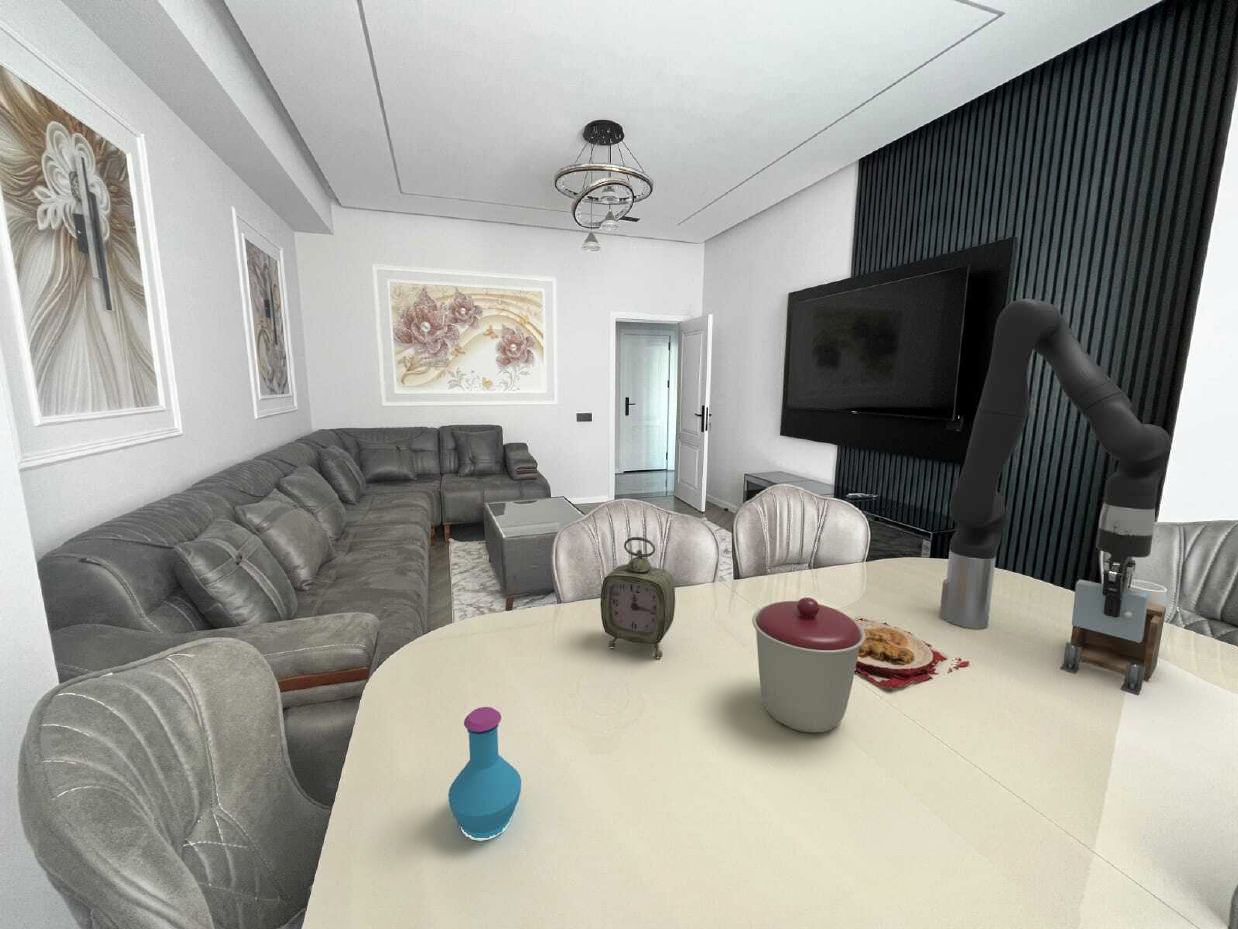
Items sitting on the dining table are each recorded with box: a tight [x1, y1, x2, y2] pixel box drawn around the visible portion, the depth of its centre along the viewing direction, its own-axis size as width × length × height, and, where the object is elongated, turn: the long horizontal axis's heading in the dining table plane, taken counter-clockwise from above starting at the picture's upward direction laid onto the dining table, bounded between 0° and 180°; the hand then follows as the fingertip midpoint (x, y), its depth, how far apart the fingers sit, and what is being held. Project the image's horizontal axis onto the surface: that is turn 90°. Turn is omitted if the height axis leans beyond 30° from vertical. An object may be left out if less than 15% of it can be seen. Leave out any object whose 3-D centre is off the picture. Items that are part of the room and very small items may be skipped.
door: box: [1071, 579, 1149, 643], centre depth 102 cm, size 10×4×9 cm, turn 37°
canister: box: [751, 597, 866, 734], centre depth 89 cm, size 18×18×21 cm
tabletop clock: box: [599, 536, 676, 658], centre depth 111 cm, size 14×9×25 cm, turn 68°
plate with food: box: [852, 617, 970, 690], centre depth 113 cm, size 25×26×4 cm
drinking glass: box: [1129, 579, 1168, 607], centre depth 111 cm, size 7×7×15 cm
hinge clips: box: [1059, 641, 1145, 696], centre depth 101 cm, size 11×3×5 cm, turn 37°
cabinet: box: [1070, 603, 1167, 682], centre depth 107 cm, size 12×9×13 cm
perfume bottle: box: [448, 706, 522, 838], centre depth 67 cm, size 9×9×15 cm
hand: (1113, 613), depth 102 cm, fingers closed on door, 3 cm apart
